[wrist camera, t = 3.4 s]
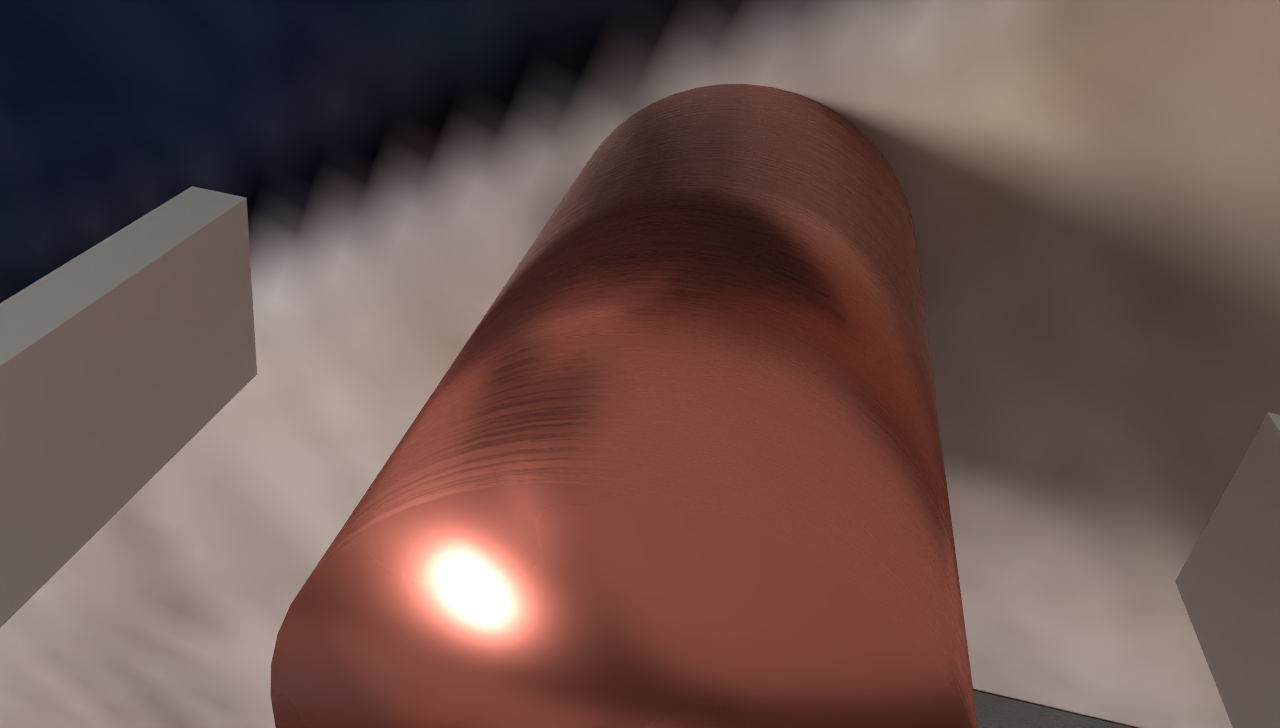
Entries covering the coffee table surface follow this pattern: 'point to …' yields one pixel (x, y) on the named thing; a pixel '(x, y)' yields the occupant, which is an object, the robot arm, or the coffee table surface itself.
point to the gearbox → (1028, 715)
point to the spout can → (666, 464)
